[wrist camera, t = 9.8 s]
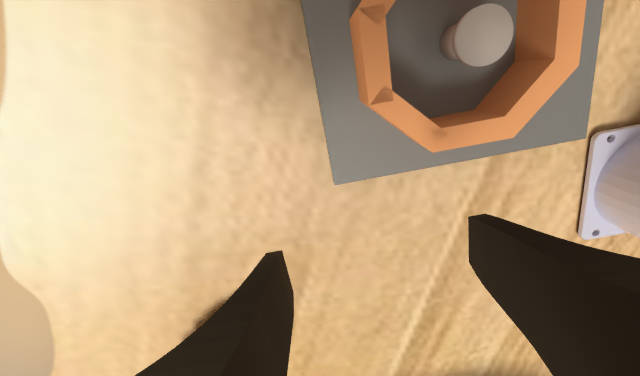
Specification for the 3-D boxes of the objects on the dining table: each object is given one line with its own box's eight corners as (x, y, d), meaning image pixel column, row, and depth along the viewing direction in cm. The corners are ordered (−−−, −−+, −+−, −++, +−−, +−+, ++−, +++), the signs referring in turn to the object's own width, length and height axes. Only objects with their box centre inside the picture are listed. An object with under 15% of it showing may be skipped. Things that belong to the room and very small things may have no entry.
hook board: (605, -143, 15) (704, -216, 11) (573, 135, 20) (634, 149, 16) (287, -74, 15) (280, -121, 12) (333, 180, 20) (338, 203, 17)
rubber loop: (545, -90, 15) (601, -128, 12) (531, 118, 18) (571, 127, 16) (340, -47, 15) (347, -75, 12) (365, 149, 19) (375, 163, 16)
